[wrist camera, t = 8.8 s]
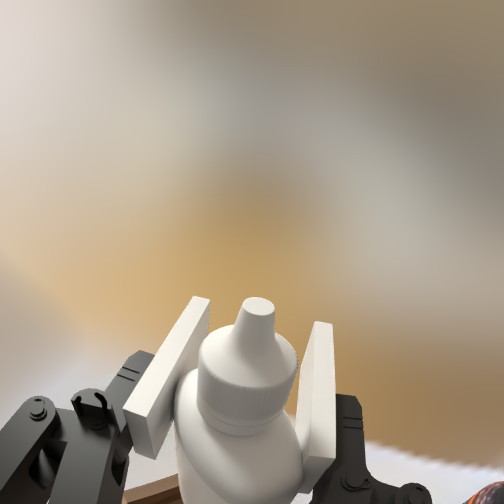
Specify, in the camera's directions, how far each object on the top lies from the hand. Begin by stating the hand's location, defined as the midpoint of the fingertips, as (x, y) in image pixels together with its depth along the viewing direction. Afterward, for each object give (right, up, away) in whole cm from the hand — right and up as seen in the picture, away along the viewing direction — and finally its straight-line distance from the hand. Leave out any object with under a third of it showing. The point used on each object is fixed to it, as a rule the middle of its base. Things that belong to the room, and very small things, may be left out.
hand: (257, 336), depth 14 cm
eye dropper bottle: (-2, -9, -2) cm, 9 cm away
